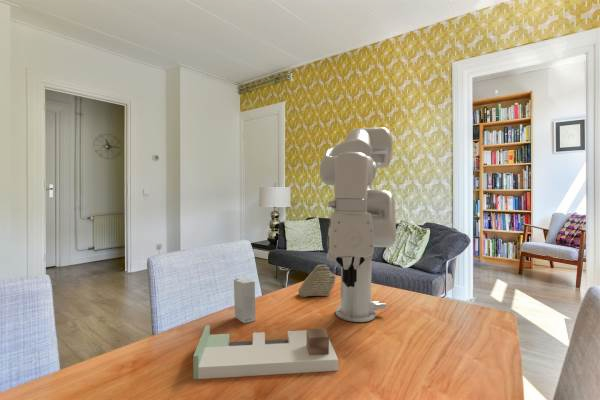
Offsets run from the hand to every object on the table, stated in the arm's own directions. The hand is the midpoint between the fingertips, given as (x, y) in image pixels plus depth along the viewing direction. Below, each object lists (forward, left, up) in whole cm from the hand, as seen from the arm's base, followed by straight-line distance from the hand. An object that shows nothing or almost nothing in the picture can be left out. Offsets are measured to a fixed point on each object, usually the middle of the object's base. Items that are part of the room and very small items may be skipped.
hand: (349, 285), depth 74 cm
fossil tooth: (-1, -46, -18) cm, 50 cm away
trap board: (+18, -4, -18) cm, 26 cm away
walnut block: (+7, -1, -15) cm, 17 cm away
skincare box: (+25, -26, -18) cm, 41 cm away
